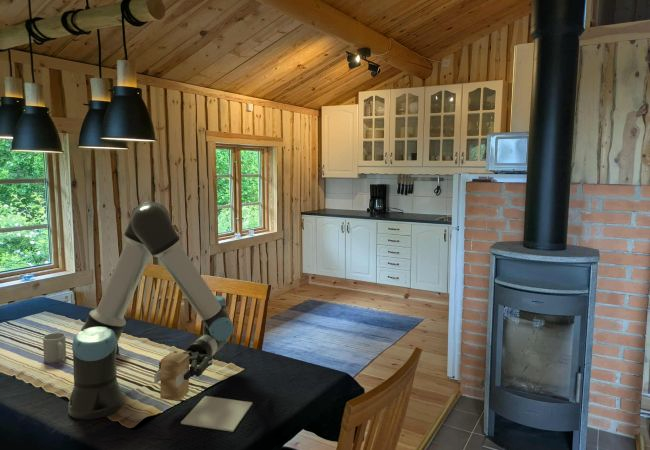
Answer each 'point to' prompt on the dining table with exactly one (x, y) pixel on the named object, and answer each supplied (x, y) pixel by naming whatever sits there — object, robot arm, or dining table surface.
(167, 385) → the oak block
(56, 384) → the dining table surface
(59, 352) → the cup
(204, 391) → the dining table surface
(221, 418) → the cream square board
